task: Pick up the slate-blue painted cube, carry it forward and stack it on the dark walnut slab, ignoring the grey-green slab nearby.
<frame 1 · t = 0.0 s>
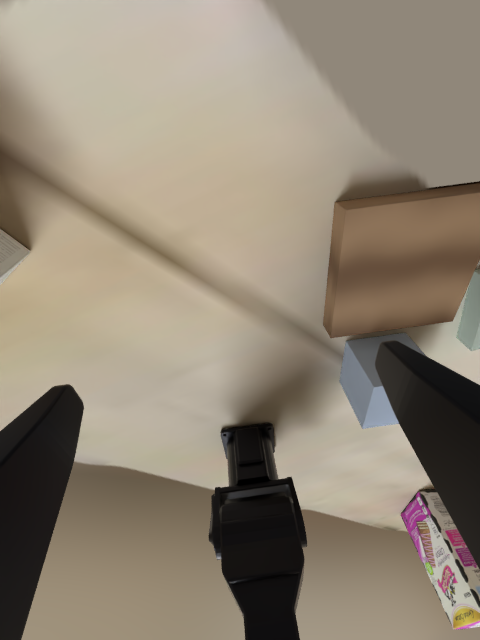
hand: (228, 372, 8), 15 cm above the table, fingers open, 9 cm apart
candy bar box: (418, 500, 56), on the table
walnut slab: (390, 260, 24), on the table
blue cube: (370, 357, 30), on the table
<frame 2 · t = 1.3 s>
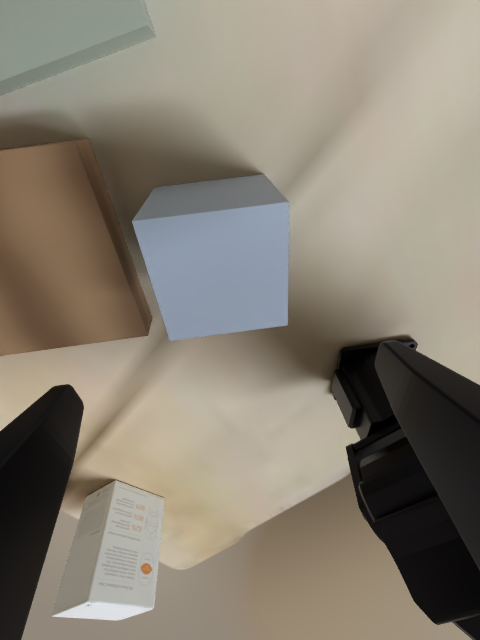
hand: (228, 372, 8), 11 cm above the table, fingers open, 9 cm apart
walnut slab: (39, 253, 18), on the table
blue cube: (217, 233, 17), on the table
small box: (127, 494, 36), on the table
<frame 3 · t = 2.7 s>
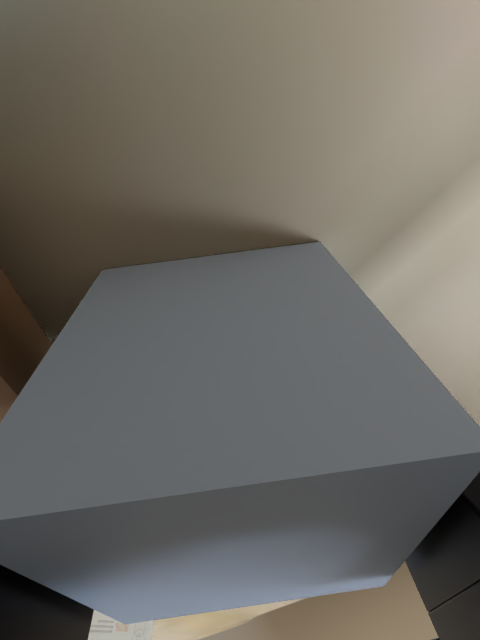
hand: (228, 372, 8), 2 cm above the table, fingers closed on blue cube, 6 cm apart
blue cube: (225, 338, 10), on the table, touching gripper
small box: (108, 600, 29), on the table
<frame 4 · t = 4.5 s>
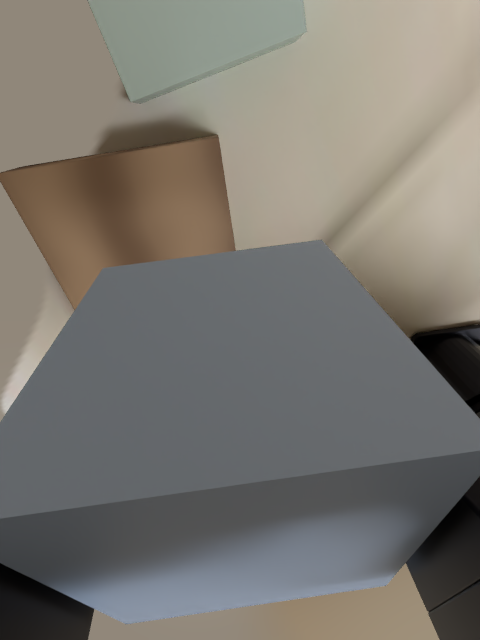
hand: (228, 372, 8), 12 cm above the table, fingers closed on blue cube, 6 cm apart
walnut slab: (151, 244, 19), on the table
blue cube: (226, 337, 10), point 11 cm above the table, touching gripper
when the fingers open (4 cm above the table, at t = 6.7 s): blue cube drops 1 cm, resting on walnut slab.
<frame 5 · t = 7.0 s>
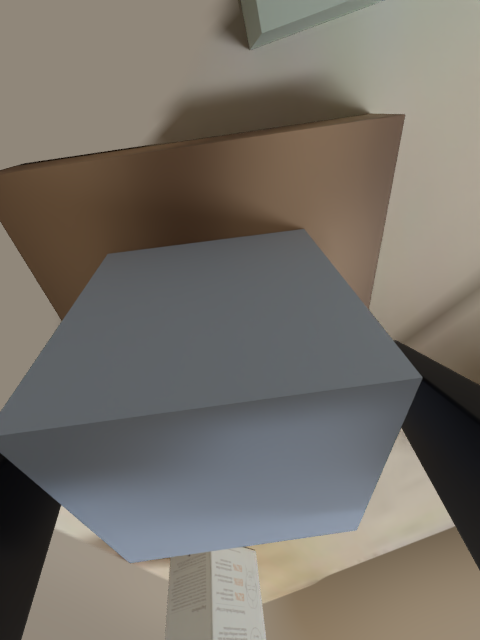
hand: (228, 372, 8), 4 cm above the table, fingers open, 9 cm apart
walnut slab: (220, 285, 12), on the table, touching blue cube
blue cube: (220, 319, 10), point 2 cm above the table, touching walnut slab
small box: (215, 548, 31), on the table
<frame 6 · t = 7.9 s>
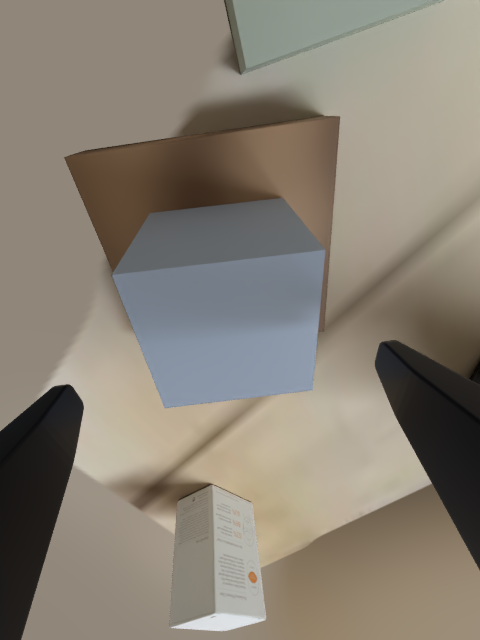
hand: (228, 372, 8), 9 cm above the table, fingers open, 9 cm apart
walnut slab: (221, 245, 17), on the table
blue cube: (224, 266, 15), point 2 cm above the table
small box: (216, 499, 35), on the table
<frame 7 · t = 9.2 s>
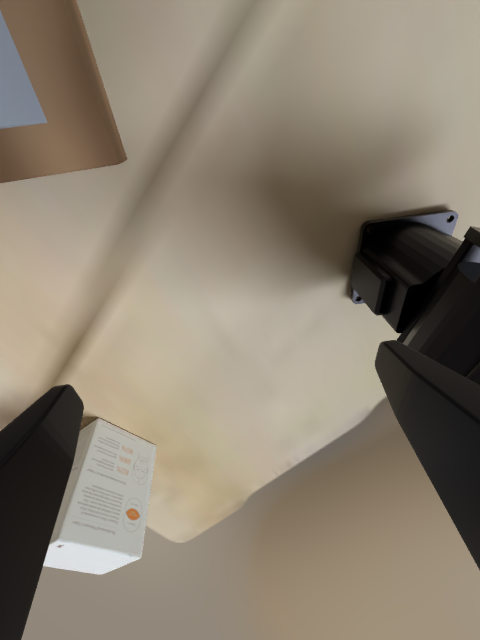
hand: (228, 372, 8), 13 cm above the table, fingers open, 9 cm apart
small box: (114, 440, 32), on the table
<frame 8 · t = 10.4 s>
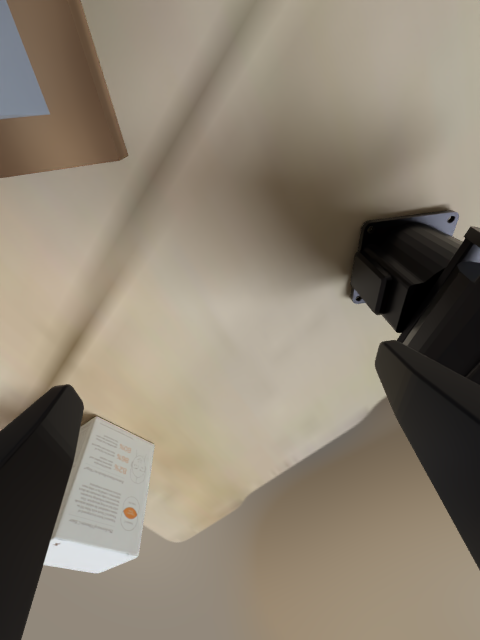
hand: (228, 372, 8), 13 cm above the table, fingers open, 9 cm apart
small box: (112, 438, 32), on the table
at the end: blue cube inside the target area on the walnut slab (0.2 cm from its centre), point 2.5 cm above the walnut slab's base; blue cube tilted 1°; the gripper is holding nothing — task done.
